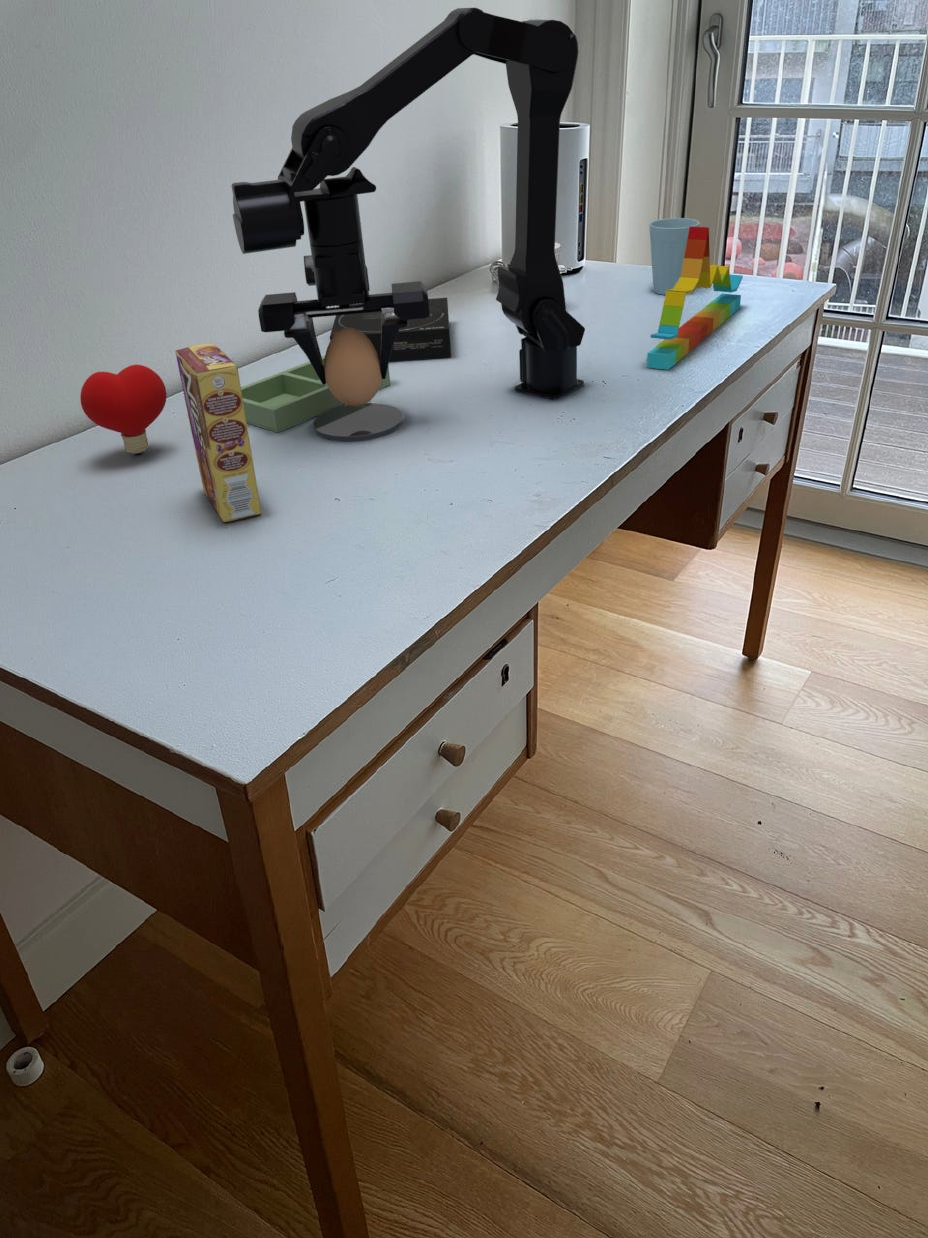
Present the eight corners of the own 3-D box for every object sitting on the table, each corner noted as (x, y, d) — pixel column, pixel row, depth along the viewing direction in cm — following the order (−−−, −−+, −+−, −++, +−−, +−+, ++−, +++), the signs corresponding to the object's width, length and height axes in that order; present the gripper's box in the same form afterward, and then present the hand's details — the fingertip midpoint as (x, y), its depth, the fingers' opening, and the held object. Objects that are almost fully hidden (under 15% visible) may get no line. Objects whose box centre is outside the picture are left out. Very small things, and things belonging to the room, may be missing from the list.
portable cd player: (449, 322, 150) (447, 296, 148) (451, 357, 136) (449, 328, 134) (342, 330, 151) (339, 303, 148) (333, 365, 136) (329, 336, 134)
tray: (390, 384, 128) (388, 363, 127) (277, 432, 116) (273, 410, 115) (337, 371, 134) (334, 351, 132) (224, 416, 122) (220, 394, 120)
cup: (637, 293, 158) (640, 225, 152) (662, 282, 163) (665, 216, 157) (678, 299, 154) (683, 229, 148) (703, 288, 158) (708, 220, 153)
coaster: (422, 418, 117) (421, 413, 117) (358, 448, 111) (357, 443, 110) (359, 401, 123) (358, 397, 123) (295, 429, 117) (294, 424, 116)
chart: (719, 305, 149) (727, 200, 141) (739, 307, 148) (749, 201, 140) (644, 367, 128) (649, 247, 120) (668, 370, 126) (675, 248, 118)
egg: (318, 411, 115) (306, 333, 110) (352, 392, 120) (342, 317, 115) (363, 419, 112) (353, 339, 107) (396, 399, 117) (388, 323, 112)
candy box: (266, 514, 98) (238, 364, 90) (224, 524, 96) (191, 373, 88) (242, 482, 105) (214, 340, 96) (203, 492, 103) (171, 348, 95)
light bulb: (103, 474, 109) (79, 387, 103) (92, 453, 114) (68, 370, 109) (186, 454, 112) (166, 369, 107) (171, 435, 117) (152, 353, 112)
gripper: (418, 219, 113) (430, 352, 121) (256, 232, 112) (279, 366, 121) (423, 239, 103) (435, 382, 112) (246, 254, 103) (272, 397, 111)
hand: (354, 380), depth 114 cm, fingers closed on egg, 6 cm apart
